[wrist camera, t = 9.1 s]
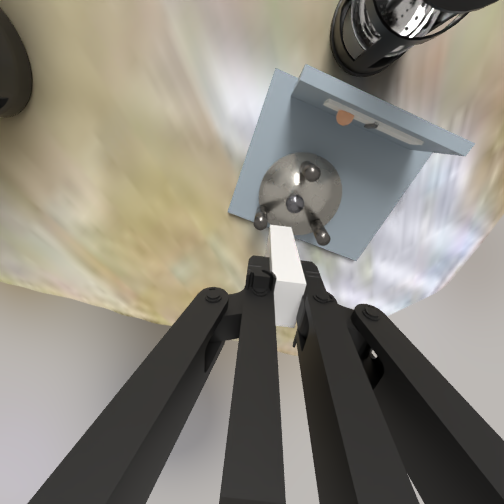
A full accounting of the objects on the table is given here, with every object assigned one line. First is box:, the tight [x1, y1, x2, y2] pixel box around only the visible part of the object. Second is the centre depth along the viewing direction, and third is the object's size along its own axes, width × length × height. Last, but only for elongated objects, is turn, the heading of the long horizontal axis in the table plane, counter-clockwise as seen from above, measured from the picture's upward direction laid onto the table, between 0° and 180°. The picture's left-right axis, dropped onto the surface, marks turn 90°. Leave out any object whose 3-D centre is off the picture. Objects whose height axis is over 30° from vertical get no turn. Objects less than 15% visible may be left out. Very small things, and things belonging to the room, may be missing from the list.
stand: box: [228, 64, 475, 261], centre depth 30 cm, size 24×20×11 cm
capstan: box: [254, 152, 342, 246], centre depth 31 cm, size 12×12×8 cm
